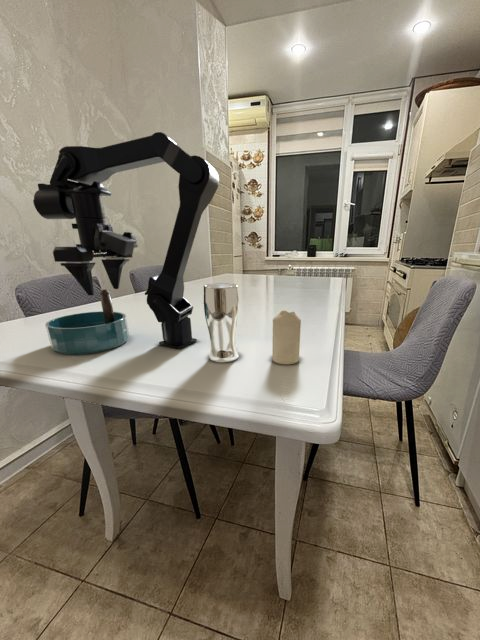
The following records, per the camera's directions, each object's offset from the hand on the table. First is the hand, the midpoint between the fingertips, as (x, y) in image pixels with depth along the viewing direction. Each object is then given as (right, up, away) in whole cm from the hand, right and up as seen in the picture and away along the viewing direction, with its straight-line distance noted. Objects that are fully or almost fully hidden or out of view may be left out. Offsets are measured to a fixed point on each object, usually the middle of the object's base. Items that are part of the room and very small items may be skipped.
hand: (104, 291), depth 68 cm
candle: (+42, -16, -8) cm, 45 cm away
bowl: (-4, -12, +2) cm, 13 cm away
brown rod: (0, -10, +4) cm, 11 cm away
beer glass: (+29, -15, -6) cm, 33 cm away
